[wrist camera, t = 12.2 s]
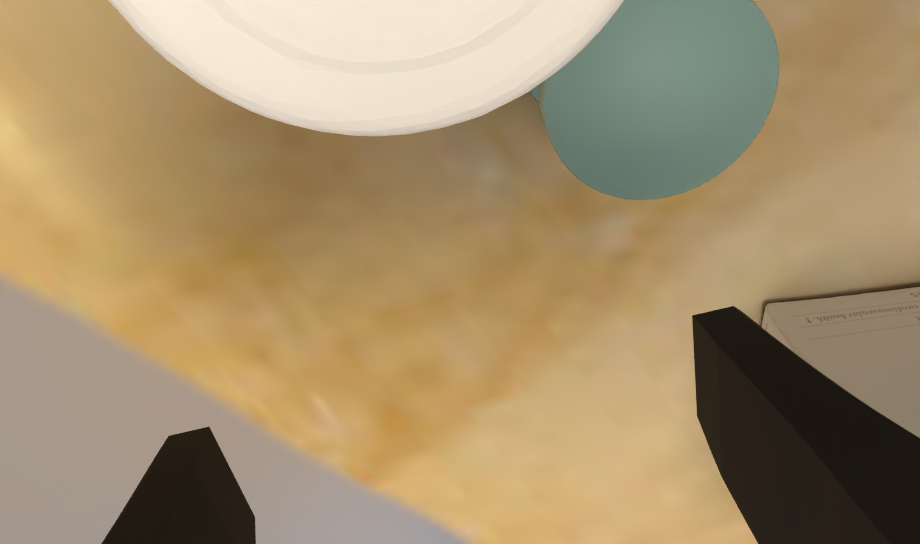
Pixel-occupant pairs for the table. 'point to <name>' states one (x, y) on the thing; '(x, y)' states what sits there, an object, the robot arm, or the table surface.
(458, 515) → the table surface
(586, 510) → the table surface
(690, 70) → the bobbin
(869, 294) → the supplement box
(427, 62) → the spice jar
